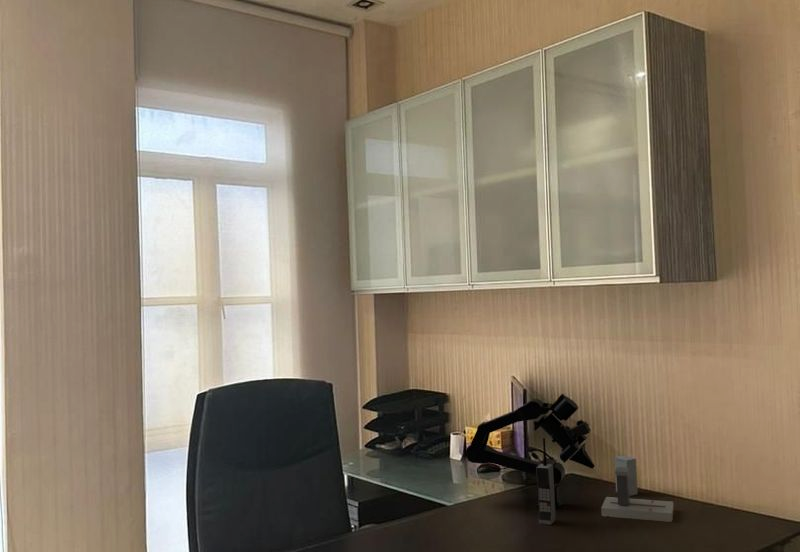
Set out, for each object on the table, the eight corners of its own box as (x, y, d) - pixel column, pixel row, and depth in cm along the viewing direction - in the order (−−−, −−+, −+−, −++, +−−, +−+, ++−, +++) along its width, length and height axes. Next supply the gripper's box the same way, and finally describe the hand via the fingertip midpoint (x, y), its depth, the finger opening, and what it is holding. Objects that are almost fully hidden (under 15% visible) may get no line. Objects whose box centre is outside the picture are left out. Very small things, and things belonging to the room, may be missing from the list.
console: (601, 516, 215) (601, 507, 215) (606, 504, 226) (606, 496, 226) (672, 522, 207) (671, 513, 207) (673, 509, 218) (673, 501, 218)
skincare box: (615, 492, 239) (613, 456, 239) (625, 490, 241) (623, 454, 241) (628, 496, 234) (626, 460, 234) (638, 494, 235) (636, 458, 236)
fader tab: (616, 504, 216) (615, 471, 216) (618, 499, 221) (617, 466, 222) (629, 505, 215) (627, 472, 215) (630, 500, 220) (629, 467, 220)
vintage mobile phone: (538, 523, 210) (534, 439, 211) (543, 518, 214) (539, 436, 215) (551, 525, 208) (547, 440, 209) (555, 520, 213) (551, 436, 213)
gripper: (568, 418, 216) (607, 456, 211) (578, 408, 233) (615, 443, 228) (544, 443, 219) (582, 481, 214) (555, 431, 236) (591, 466, 231)
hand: (593, 467), depth 222 cm, fingers closed
